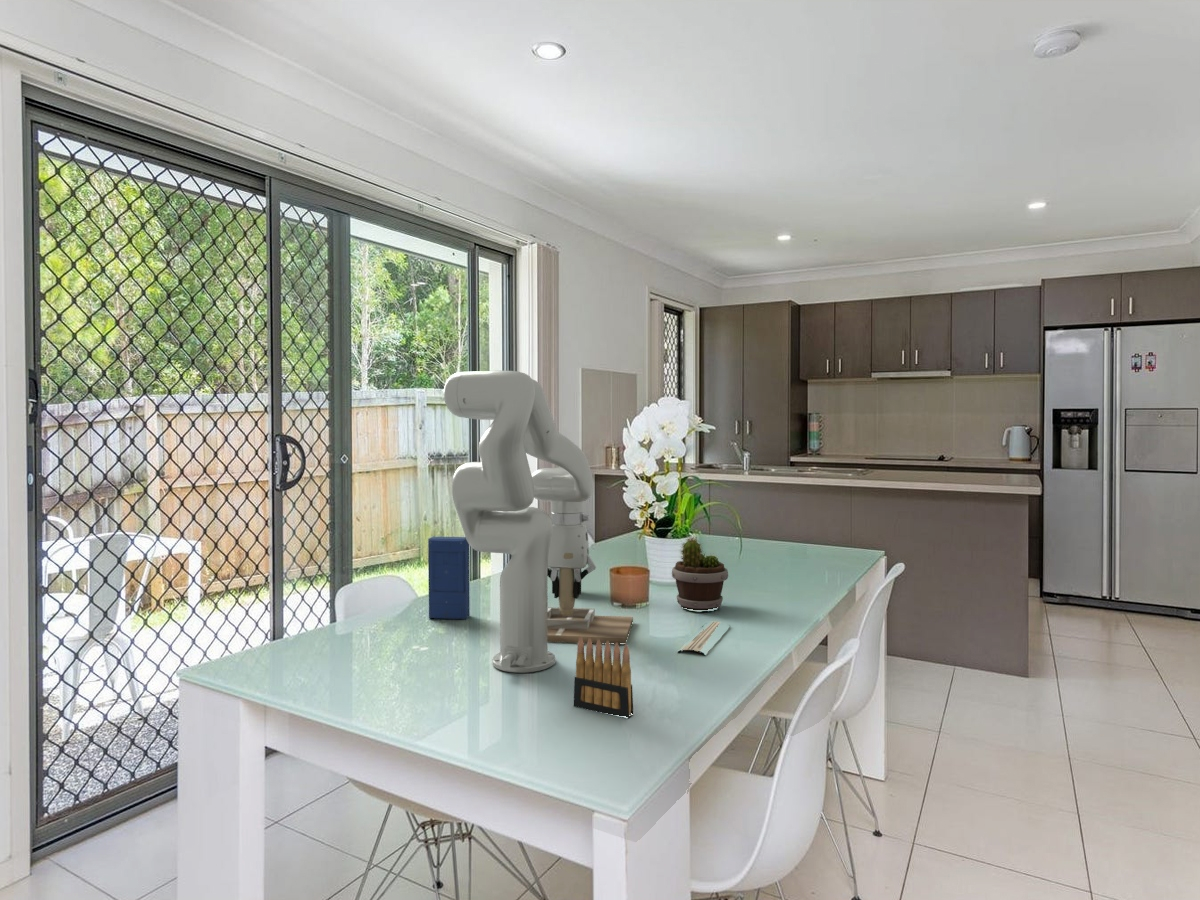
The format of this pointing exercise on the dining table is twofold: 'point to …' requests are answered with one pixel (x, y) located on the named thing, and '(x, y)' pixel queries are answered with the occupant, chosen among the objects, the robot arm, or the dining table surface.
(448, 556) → the electronic device
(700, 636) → the beige flat strip
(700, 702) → the dining table surface
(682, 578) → the flowerpot
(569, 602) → the handle
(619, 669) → the ammunition clip
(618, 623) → the board
